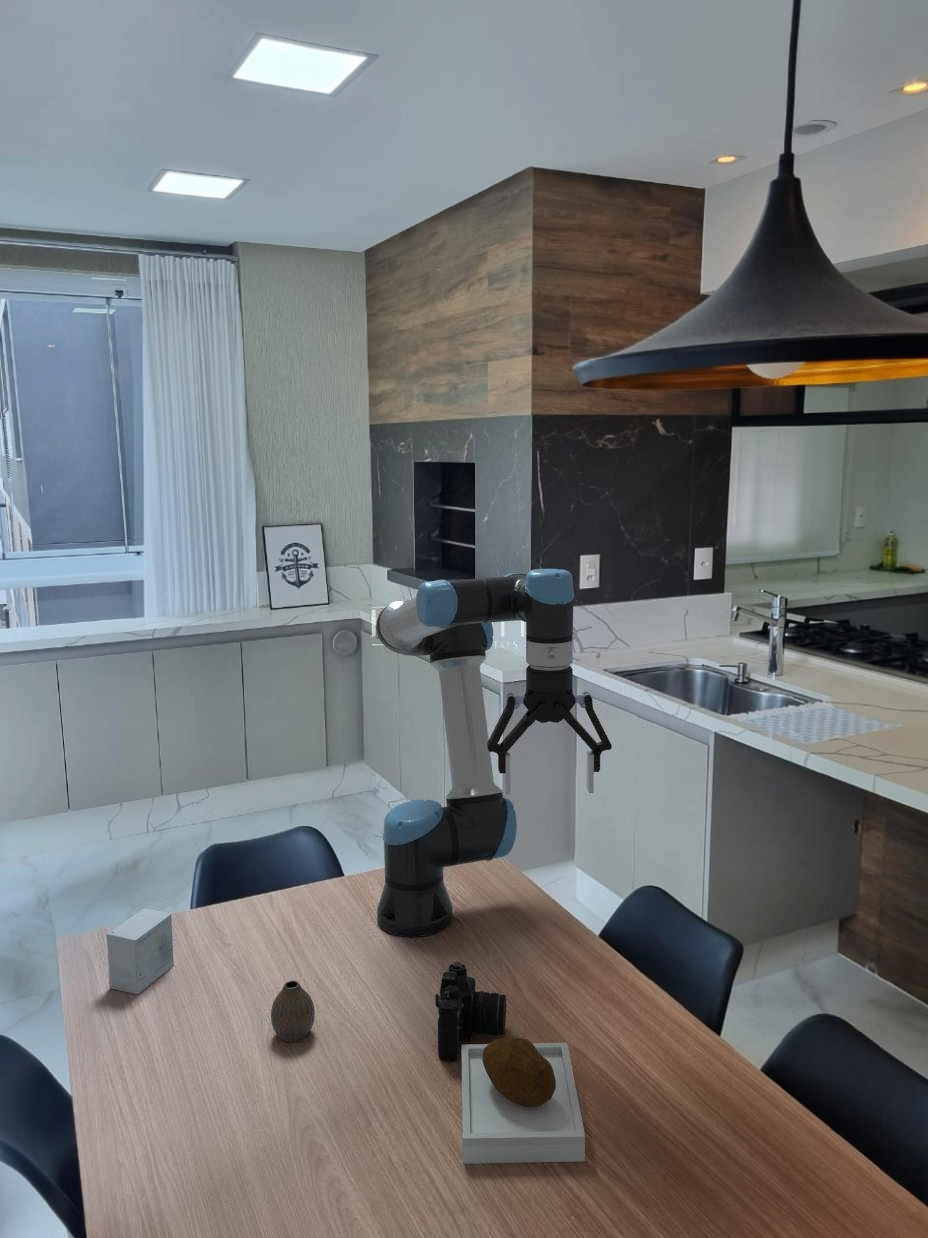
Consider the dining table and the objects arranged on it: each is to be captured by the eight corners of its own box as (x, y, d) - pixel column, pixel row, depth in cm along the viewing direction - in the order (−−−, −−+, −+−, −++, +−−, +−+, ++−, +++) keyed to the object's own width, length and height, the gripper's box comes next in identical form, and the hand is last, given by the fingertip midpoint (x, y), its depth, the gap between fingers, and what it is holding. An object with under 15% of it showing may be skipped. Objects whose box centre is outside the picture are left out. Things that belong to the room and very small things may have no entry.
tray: (461, 1067, 144) (461, 1044, 143) (566, 1065, 144) (567, 1043, 143) (463, 1164, 124) (462, 1138, 124) (584, 1161, 124) (585, 1136, 124)
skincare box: (139, 996, 164) (135, 939, 162) (108, 989, 166) (104, 934, 164) (176, 965, 174) (172, 912, 172) (146, 959, 176) (142, 907, 174)
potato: (537, 1128, 127) (537, 1076, 126) (465, 1090, 135) (464, 1041, 133) (569, 1096, 133) (570, 1046, 132) (499, 1062, 141) (499, 1014, 140)
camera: (499, 1067, 144) (499, 1007, 142) (430, 1061, 145) (429, 1002, 144) (509, 1014, 157) (509, 959, 156) (446, 1010, 159) (445, 954, 157)
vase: (263, 1035, 152) (260, 985, 151) (297, 1016, 157) (295, 968, 156) (289, 1053, 148) (287, 1002, 146) (324, 1033, 153) (322, 983, 151)
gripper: (472, 671, 149) (473, 800, 153) (630, 669, 149) (628, 797, 153) (471, 661, 156) (472, 784, 160) (622, 659, 157) (620, 782, 160)
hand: (548, 791), depth 156 cm, fingers open, 13 cm apart
